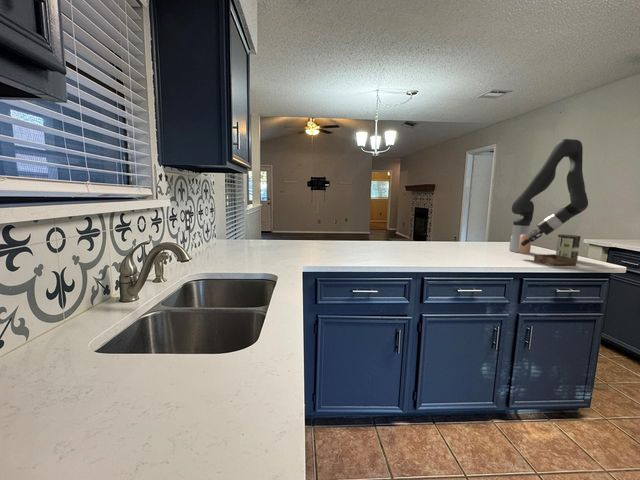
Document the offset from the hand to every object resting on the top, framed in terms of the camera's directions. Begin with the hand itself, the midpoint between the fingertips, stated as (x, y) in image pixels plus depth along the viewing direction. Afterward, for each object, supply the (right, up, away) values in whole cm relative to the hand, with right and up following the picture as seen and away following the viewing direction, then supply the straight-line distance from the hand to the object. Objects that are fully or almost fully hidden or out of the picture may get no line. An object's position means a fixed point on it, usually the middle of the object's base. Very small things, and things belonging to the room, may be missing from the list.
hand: (521, 243), depth 181 cm
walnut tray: (+12, -10, -8) cm, 18 cm away
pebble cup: (+2, -5, 0) cm, 5 cm away
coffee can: (+27, -9, +2) cm, 28 cm away
